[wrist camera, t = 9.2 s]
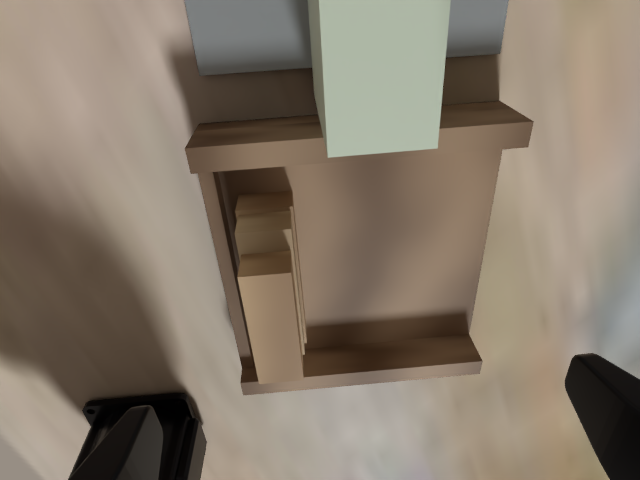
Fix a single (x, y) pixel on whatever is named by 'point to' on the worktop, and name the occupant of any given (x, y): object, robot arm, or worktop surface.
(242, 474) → the worktop surface
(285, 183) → the rack
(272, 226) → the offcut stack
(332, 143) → the pale grey rectangular block
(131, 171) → the worktop surface
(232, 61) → the grey mat
